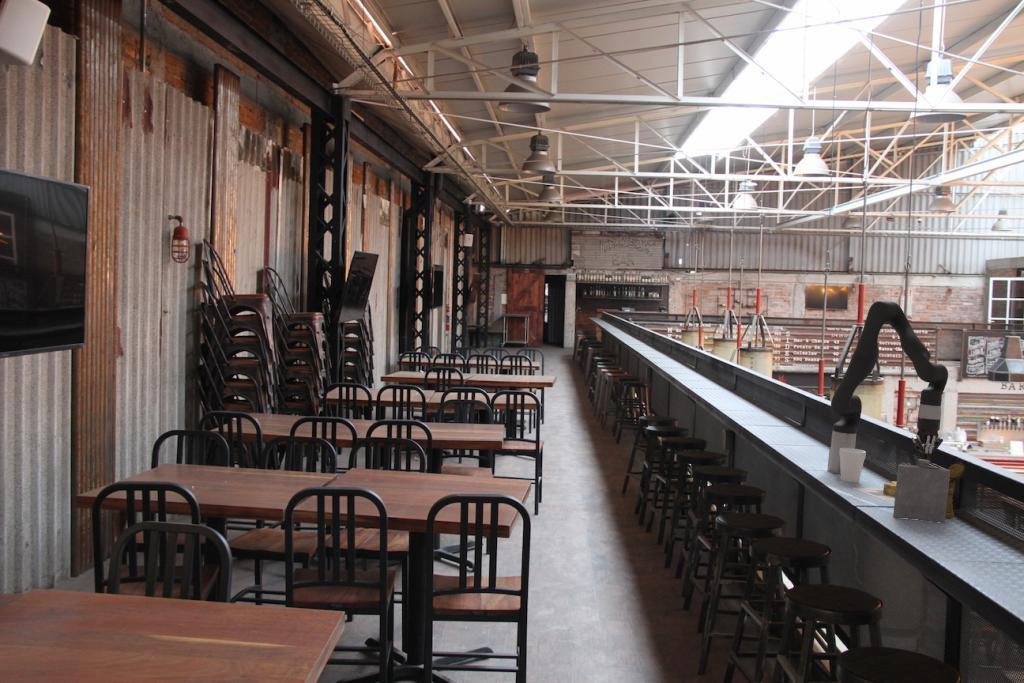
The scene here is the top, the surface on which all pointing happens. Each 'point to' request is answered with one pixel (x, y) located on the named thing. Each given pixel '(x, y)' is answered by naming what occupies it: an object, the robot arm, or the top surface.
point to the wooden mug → (953, 485)
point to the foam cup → (851, 464)
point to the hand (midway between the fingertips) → (924, 462)
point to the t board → (876, 493)
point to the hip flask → (921, 492)
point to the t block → (890, 488)
